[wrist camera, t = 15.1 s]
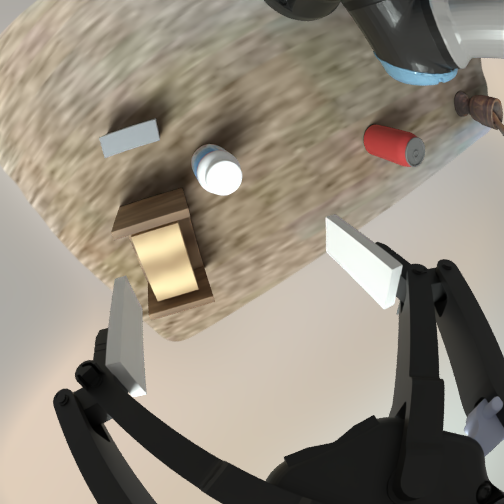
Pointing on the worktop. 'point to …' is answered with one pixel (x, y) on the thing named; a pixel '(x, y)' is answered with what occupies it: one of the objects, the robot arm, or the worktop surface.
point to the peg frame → (173, 209)
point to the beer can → (394, 145)
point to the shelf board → (165, 260)
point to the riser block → (130, 137)
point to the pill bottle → (216, 169)
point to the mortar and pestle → (481, 109)
